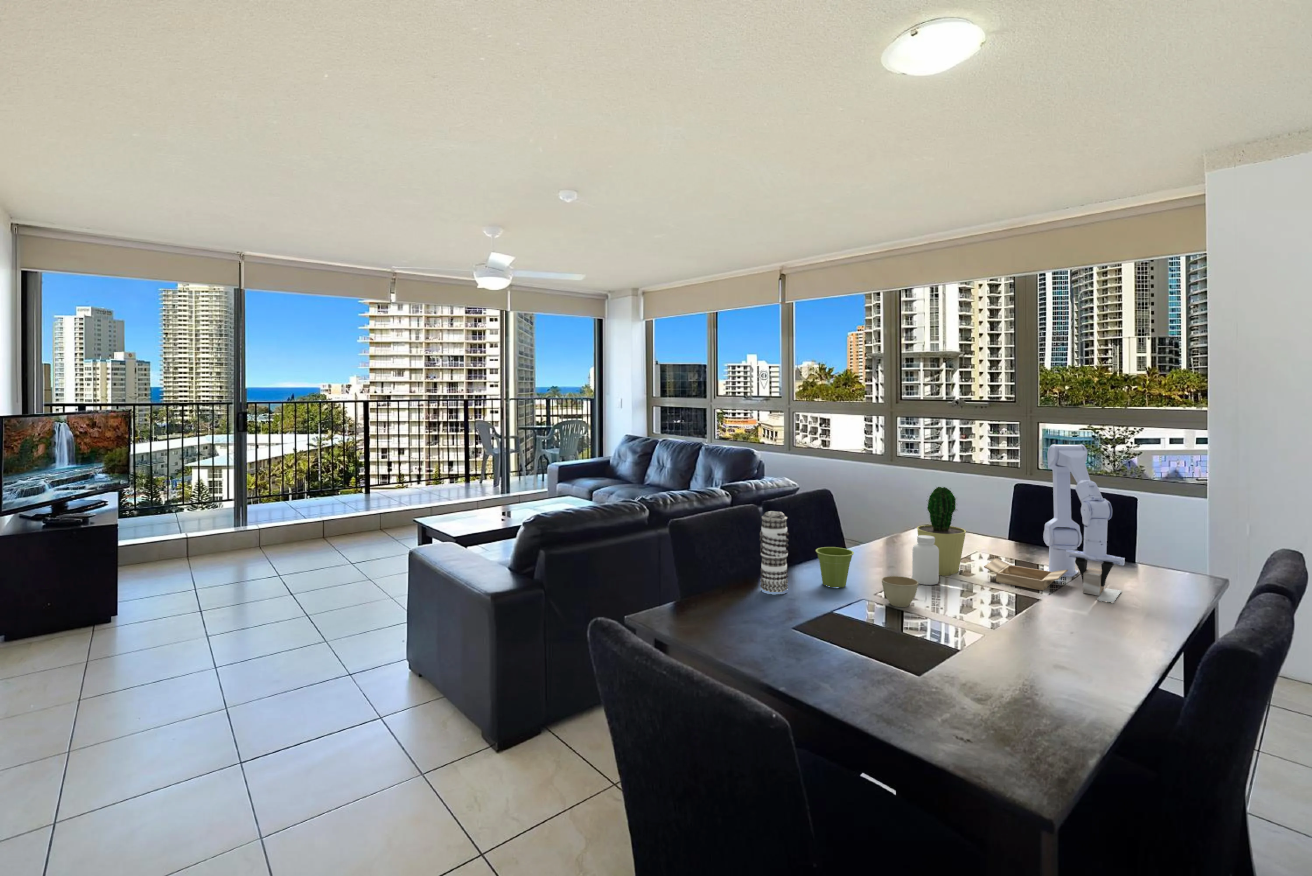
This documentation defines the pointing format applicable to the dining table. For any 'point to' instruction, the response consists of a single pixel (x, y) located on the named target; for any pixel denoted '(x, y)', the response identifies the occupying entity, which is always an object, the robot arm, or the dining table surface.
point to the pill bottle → (925, 561)
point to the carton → (1023, 575)
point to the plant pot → (834, 565)
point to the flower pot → (899, 590)
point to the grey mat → (1109, 595)
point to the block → (1092, 581)
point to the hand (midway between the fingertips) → (1093, 584)
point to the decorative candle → (774, 552)
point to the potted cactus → (944, 530)
